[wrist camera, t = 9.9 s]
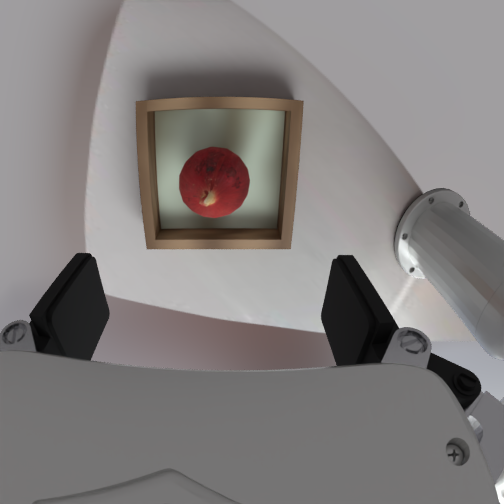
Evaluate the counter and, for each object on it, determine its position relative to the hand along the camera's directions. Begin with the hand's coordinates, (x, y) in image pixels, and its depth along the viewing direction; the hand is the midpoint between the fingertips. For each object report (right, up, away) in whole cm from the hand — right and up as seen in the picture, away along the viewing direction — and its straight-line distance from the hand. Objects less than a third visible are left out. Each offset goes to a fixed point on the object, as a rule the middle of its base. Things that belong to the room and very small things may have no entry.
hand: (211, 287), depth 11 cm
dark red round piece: (-2, +9, +16) cm, 18 cm away
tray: (-2, +9, +17) cm, 19 cm away
